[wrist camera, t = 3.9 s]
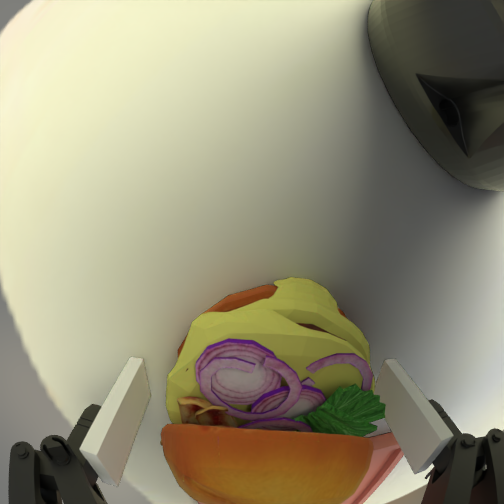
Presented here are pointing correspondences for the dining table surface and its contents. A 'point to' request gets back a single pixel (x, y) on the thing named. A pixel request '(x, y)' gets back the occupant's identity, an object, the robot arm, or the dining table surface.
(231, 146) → the dining table surface
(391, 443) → the tray
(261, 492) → the cheeseburger
